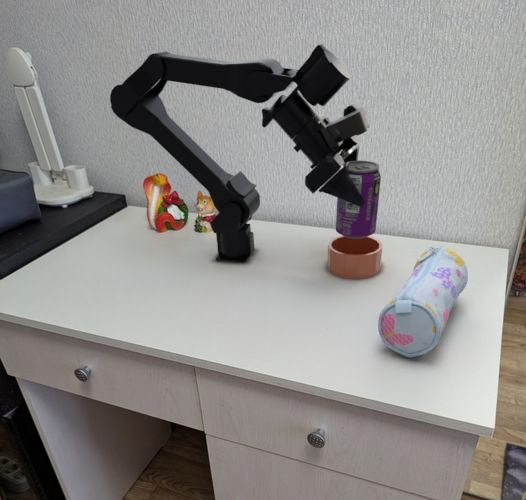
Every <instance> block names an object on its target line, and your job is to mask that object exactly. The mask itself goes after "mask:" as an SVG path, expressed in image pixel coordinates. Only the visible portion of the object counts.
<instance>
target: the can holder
mask: <svg viewBox="0 0 526 500" xmlns="http://www.w3.org/2000/svg"><path fill="white" fill-rule="evenodd" d="M383 247H384V245H383V243H382V242H381V240H380V239H378V238H375V237H373V236H371V235H370V236H367V237H365V238H361V239H351V238H347V237H344V236H343V235H339V236H336V237H334V238H332V239H330V240H329V242H328V244H327V263H326V265H327V269H328V271H329V272H330V273H331V274H333V275H334V276H336V277H339V278H343V279H351V280H358V279H360V280H361V279H367V278H371V277H373V276H375V275H377V274H378V273H379V272H380V270H381V266H382V258H383V257H382V256H383Z"/></svg>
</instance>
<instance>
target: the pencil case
mask: <svg viewBox="0 0 526 500" xmlns="http://www.w3.org/2000/svg"><path fill="white" fill-rule="evenodd" d="M468 281H469V272H468V267H467V264H466V262H465V260H464V259H463V258H462V257H461V256H460V255H459V254H458V253H457V252H455V251H453V250H452V249H450V248H448V247H444V246H443V245H439V247H437V248H436V247H433V246H430V247H429V248H428V249H426V250H425V251H424V252H423V253H422V254H421V255H420V256H419V258H417V259H416V262H415V264H414V267H413V270H412V272H411V274H409V276H408V277H407V278H406V280H405V282H404V284H403V285H402V287H401V288H400V289H399V290H398V291H397V292H396V293H395V294H394V296H393V297H392V298H391V300H389V301H388V302H387V303H386V304H385V305H384V306H383V308H382V310H381V311H380V313H379V315H378V319H377V329H378V330H377V331H378V333H379V336H380V339H381V340H382V342H383V343H384V344H385V345H386V346H387V347H388V348H390V349H391V350H392V351H394V352H395V353H396V354H399V355H401V356H403V357H405V358H416V357H419V356H421V355H425V354H427V353H428V352H430V351H432V350H433V349H435V347H436V346H437V345H438V344H439V342H440V340H441V336H442V334H443V331H444V329H445V328H446V326H447V323H448V319H449V316H450V313H451V311H452V309H453V308H454V306H455V305H456V302H457V301H458V299H459V296H460V294H461V293H462V292H463V291H464V290H465V289H466V287H467V284H468Z"/></svg>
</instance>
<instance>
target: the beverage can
mask: <svg viewBox="0 0 526 500" xmlns="http://www.w3.org/2000/svg"><path fill="white" fill-rule="evenodd" d="M346 163H347V162H346ZM346 163H344V164H343V166H344V165H345V164H346ZM379 169H380V164H378V163H377V162H375V161H370V160H358V161H350V162H349V168H348V175H349V177H350V179H351V180H352V182H353V183H354V185H355V186H356V188H357V190H358V191H359V193H360V195H361V196H362V198H363V199H364V201H365V203H364V204H363V205H362V206H361V207H359V206H357V205H354V204H352V203H350V202H347V201H345V200H343V199H340V198H338V197H336V215H335V217H336V218H335V232H336V233H337V234H339V235H340V236H342V235H343V236H344V237H347V238H351V239H361V238H365V237H367V236H370V237H371V236H372V235H374V234H375V232H376V230H377V221H378V212H379V211H378V209H379V201H380V200H379V199H380V190H381V179H382V175H381V173H380V170H379Z"/></svg>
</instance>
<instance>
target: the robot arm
mask: <svg viewBox="0 0 526 500" xmlns="http://www.w3.org/2000/svg"><path fill="white" fill-rule="evenodd" d="M351 78H352V76H351V73H350V71H349V70H348V67H347V66H346V64H345V63H344V62H343V61H342V60H341V58H340V57H337V56H336V55H335V54H334V53H333V52H332V51H330V50H329V49H327V48H326V47H325V46H324V44H323V43H320V44H317V45H316V46H315V47H314V48H313V50H312V51H311V53H310V55H309V57H308V58H307V59H306V60H305V61H304V62H303V64H302V65H301V66H300V67H299V69H296V68H290V67H283V66H282V65H281V62H280V61H278V60H277V59H274V58H269V57H268V58H255V59H247V60H239V61H227V60H219V59H213V58H212V59H211V58H204V57H198V56H197V57H196V56H190V55H184V54H183V55H182V54H175V53H171V52H169V51H165V50H164V51H158V52H153V53H150V54H149V55H148V57H147V58H146V59H145V60H144V61H143V63H142V64H141V65H140V66H139V67H138V68H137V69H135V71H134V72H132V73H131V75H129V76H128V77H127V78H126V79H125V80H124V81H123V83H120V84H117V85H115V86H114V87H113V88H112V89H111V91H110V95H109V102H110V105H111V106H110V108H111V110H112V112H113V114H114V115H115V116H116V117H117V118H118V119H119V120H122V121H123V122H124V123H126V124H127V125H128V126H129V127H131V128H133V129H136V130H138V131H139V132H142V133H144V134H147V135H148V136H150V137H152V138H153V139H154V140H155V141H156V142H157V143H158V144H159V145H160V146H161V147H162V148H163V149H164V151H166V152H167V153H168V154H169V155H170V156H172V158H173V159H174V160H176V162H177V163H178V164H179V165H180V166H181V167H183V168H184V169H185V170H186V171H187V172H188V173H189V174H190V175H191V176H192V177H193V178H194V179H195V180H196V181H197V182H198V183H199V184H200V185H201V186H202V187H203V188H204V189H205V190H206V191H207V192H208V193H209V196H210V200H211V201H212V205H213V207H214V209H216V211H217V212H218V213H217V215H216V216H215V217H214V218H213V219H212V220H211V221H210V222H209V225H210V227H211V230H212V233H213V234H215V237H216V248H217V255H216V256H215V261H220V262H231V263H233V262H234V263H247V262H248V261H249V259H250V258H251V256H252V255H253V253H254V252H255V250H256V249H255V236H254V235H255V234H254V232H253V231H252V228H251V223H248V222H249V221H251V220H252V218H253V215H254V214H255V213H257V211H258V210H259V208H260V207H261V206H260V205H261V195H260V193H259V191H258V190H257V189H256V188H257V184H254V183H253V182H251V181H250V180H249V179H248V178H247V176H246V175H245V174H244V173H243V172H242V171H238V172H237V173H235V174H231V173H229V172H226V171H225V170H224V169H223V168H222V167H221V166H220V165H219V164H218V163H217V162H216V161H215V160H214V159H213V158H212V157H211V156H210V155H209V154H208V153H207V152H206V151H205V150H204V149H203V148H202V147H201V146H200V145H199V144H198V143H197V142H196V141H195V140H194V139H193V138H192V137H191V136H189V134H188V133H186V131H184V130H183V129H182V128H181V126H180V125H178V124H177V123H176V121H174V120H173V118H171V117H170V115H169V114H168V111H167V109H166V107H165V105H164V102H163V99H162V98H161V97H160V95H161V94H162V93H163V92H164V90H165V88H166V87H167V84H168V83H169V82H173V83H174V82H175V83H179V84H180V83H182V84H187V85H193V86H194V85H195V86H201V87H209V88H215V89H220V90H221V89H222V90H225V91H227V92H230V93H232V94H233V95H235V96H236V97H239V98H240V99H244V100H247V101H250V102H252V103H255V104H264V103H266V102H269V101H270V100H272V99H274V98H275V97H277V96H279V97H278V98H277V99H276V101H274V103H273V104H272V105H271V106H270V107H269V106H265V107H264V108H262V109H261V114H262V119H261V127H262V128H266V127H268V126H269V125H271V124H272V123H273V122H275V123H276V124H277V126H279V127H280V129H281V130H282V131H283V132H284V133H285V134H286V135H287V137H289V139H290V140H291V141H292V142H293V143H294V144H295V145H294V146H293V149H294V151H295V152H296V153H299V152H300V151H301V152H302V154H303V155H304V156H305V157H306V158H307V160H308V161H310V163H311V165H310V166H309V167H310V169H311V170H310V171H308V173H307V174H306V175H305V177H304V186H305V187H306V188H307V189H308V191H310V192H311V193H312V194H315V193H316V192H317V191H318V193H324V194H327V195H330V196H333V197H335V198H337V197H338V198H340V199H343V200H345V201H347V202H350V203H352V204H354V205H357V206H359V207H361V206H362V205H363V204H364V203H365V201H364V199H363V198H362V196H361V195H360V193H359V191H358V190H357V188H356V186H355V185H354V183H353V182H352V180H351V179H350V177H349V175H348V168H349V162H350V161H359V151H360V145H358V144H359V143H360V141H361V140H360V139H359V137H358V136H360V135H362V134H364V133H366V132H367V131H368V129H369V128H370V124H369V121H368V118H367V112H366V110H365V109H364V107H362V106H360V107H358V106H357V105H356V104H355V103H352V104H350V105H347V106H345V108H344V109H343V116H340V117H339V118H337V119H335V120H333V121H331V119H330V118H329V117H327V116H323V117H321V116H320V115H319V114H318V113H317V111H315V109H314V108H313V107H316V106H317V105H319V106H321V107H325V106H327V104H328V103H329V102H330V101H331V100H332V99H333V98H334V97H335V95H336V94H338V93H339V91H340V90H341V89H342V88H343V87H344V86H345V85H346V84H347V83H348V82H349V81H350V79H351ZM295 85H296V87H295V88H294V89H293V90H292V91H291V93H290V94H289V95H288V96H287V95H286V94H281V93H282V92H284V91H286V90H288V89H291V88H292V87H293V86H295ZM279 94H281V95H279ZM355 146H356V147H355ZM354 147H355V148H354ZM353 148H354V149H353ZM352 149H353V150H352ZM346 162H347V163H346ZM344 163H346V164H345V165H344V166H343V164H344Z"/></svg>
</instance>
